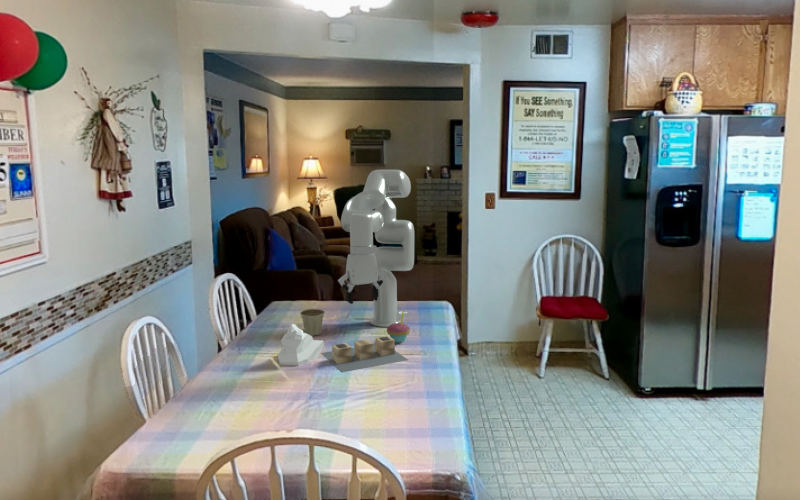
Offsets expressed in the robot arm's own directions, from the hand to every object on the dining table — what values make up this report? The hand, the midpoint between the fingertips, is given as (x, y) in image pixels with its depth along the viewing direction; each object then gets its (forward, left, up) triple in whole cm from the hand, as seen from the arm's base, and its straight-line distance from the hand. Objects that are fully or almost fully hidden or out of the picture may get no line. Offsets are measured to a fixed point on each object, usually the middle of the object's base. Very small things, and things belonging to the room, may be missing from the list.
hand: (362, 301), depth 196 cm
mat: (0, 0, -20) cm, 20 cm away
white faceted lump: (+21, -8, -20) cm, 30 cm away
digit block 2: (-8, 0, -20) cm, 21 cm away
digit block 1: (+8, 0, -20) cm, 21 cm away
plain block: (0, 0, -20) cm, 20 cm away
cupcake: (-18, -10, -20) cm, 29 cm away
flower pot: (+7, -34, -20) cm, 40 cm away
